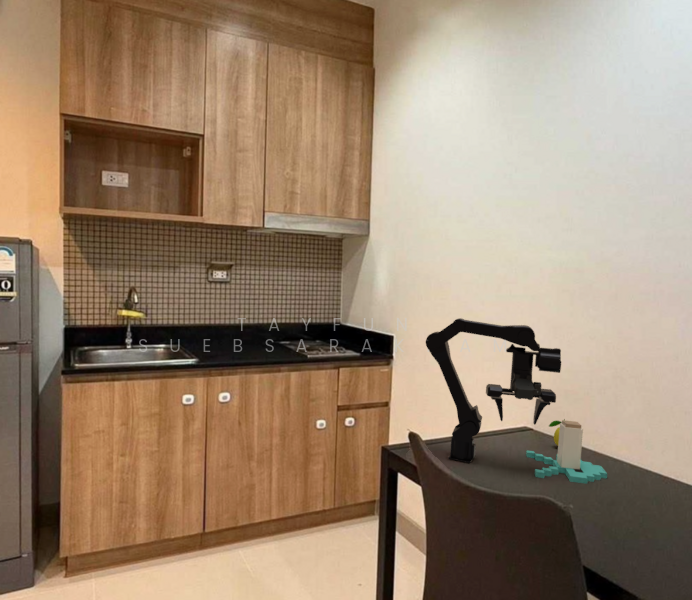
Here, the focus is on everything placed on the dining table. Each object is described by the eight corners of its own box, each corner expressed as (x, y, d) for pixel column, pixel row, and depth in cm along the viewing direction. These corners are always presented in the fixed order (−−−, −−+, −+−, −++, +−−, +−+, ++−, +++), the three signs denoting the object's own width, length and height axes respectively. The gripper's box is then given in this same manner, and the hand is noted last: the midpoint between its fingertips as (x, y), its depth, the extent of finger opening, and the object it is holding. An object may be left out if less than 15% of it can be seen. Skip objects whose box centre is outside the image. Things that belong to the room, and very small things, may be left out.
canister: (561, 467, 151) (564, 423, 151) (556, 461, 156) (560, 419, 156) (579, 469, 150) (583, 425, 150) (574, 463, 155) (578, 421, 155)
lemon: (546, 446, 177) (549, 416, 176) (559, 445, 179) (562, 415, 179) (562, 452, 171) (565, 422, 170) (575, 451, 173) (578, 421, 173)
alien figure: (535, 479, 146) (613, 489, 142) (536, 471, 146) (614, 481, 142) (525, 457, 166) (594, 465, 162) (526, 450, 166) (594, 458, 162)
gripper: (491, 370, 146) (487, 426, 147) (562, 376, 143) (558, 433, 144) (487, 364, 157) (483, 416, 158) (553, 370, 154) (549, 423, 155)
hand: (517, 422), depth 153 cm, fingers open, 9 cm apart
